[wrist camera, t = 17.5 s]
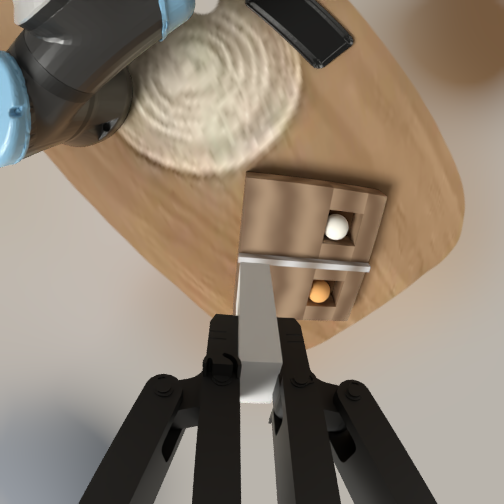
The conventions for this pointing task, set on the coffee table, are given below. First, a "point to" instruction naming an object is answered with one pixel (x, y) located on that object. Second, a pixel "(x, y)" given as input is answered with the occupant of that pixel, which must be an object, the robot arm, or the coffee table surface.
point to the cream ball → (336, 227)
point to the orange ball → (319, 291)
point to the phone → (305, 28)
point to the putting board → (308, 241)
